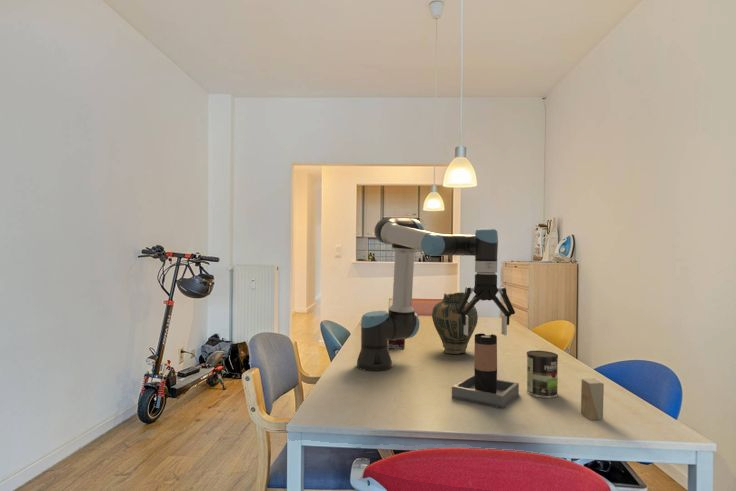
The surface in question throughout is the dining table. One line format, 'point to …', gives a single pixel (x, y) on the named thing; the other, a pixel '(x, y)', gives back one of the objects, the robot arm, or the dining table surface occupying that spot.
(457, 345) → the vase
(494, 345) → the travel mug
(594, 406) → the box
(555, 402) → the dining table surface
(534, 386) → the coffee can
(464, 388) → the bin
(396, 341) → the supplement box
